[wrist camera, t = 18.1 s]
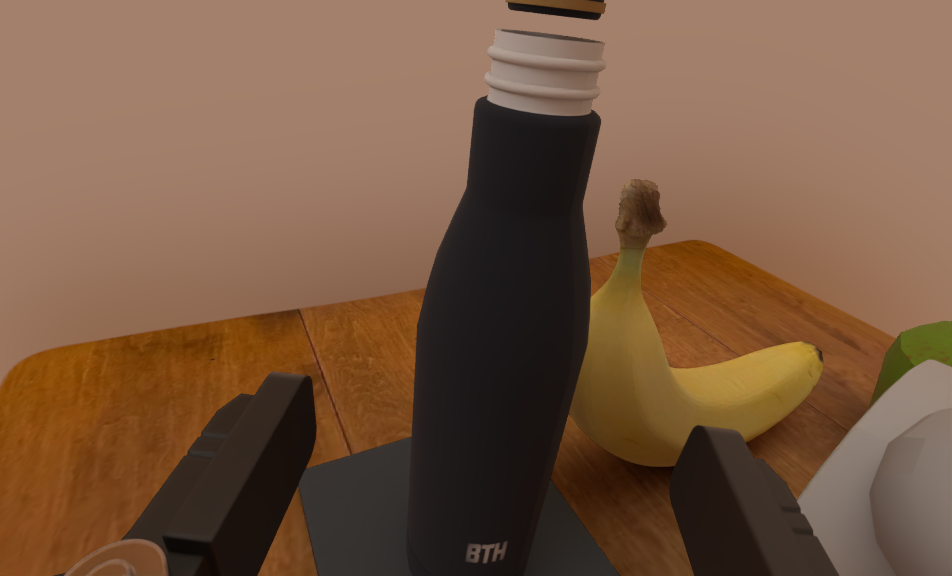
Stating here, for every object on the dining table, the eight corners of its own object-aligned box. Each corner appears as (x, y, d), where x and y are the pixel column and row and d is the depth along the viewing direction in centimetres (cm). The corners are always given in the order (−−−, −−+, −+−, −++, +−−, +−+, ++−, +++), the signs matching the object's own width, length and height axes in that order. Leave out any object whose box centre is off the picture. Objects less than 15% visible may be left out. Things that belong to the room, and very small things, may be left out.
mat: (376, 843, 17) (376, 836, 16) (297, 482, 29) (296, 471, 28) (661, 651, 23) (667, 641, 23) (499, 419, 35) (500, 409, 34)
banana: (750, 389, 41) (873, 155, 31) (812, 441, 36) (982, 187, 26) (511, 452, 32) (572, 159, 22) (554, 530, 28) (655, 206, 18)
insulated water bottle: (471, 475, 29) (571, -197, 14) (551, 555, 25) (809, -247, 10) (381, 538, 25) (386, -303, 10) (461, 645, 21) (663, -449, 6)
